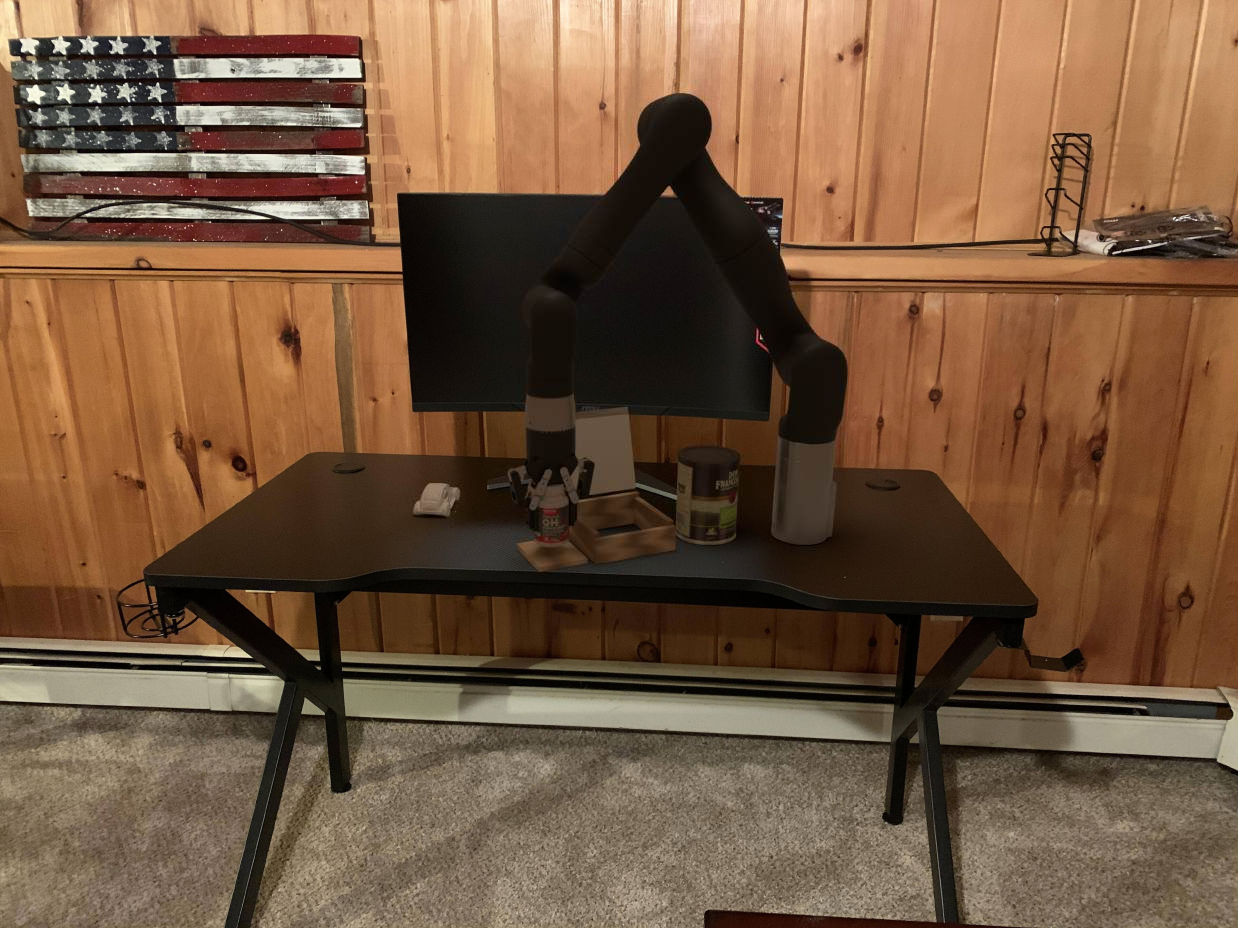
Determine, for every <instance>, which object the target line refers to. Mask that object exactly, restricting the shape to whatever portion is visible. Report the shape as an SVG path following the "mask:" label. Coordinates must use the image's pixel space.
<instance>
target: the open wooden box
mask: <svg viewBox="0 0 1238 928" xmlns="http://www.w3.org/2000/svg"><path fill="white" fill-rule="evenodd" d="M632 524H633V525H635V526H636V527H637V528H639V530H635V531H634V530H633V531H628V532H623V533H622V532H621V533H615V534H610V535H604V536H600V532H599V531H598V530H602V529H609V528H615V527H621V526H626V525H632ZM568 541H569V542H570V543H571V544H572V545H573V546H574V547H576V548H577V549H578V550H579V551H580V552H581V553H582V554H583V555H584V556H585V557H587V558H589V559H588V560H590V561H592V562H593V564H595V565H600V564H606V563H611V562H616V561H617V562H618V561H622V560H623V561H624V560H627V559H633V558H634V559H635V558H639V557H645V556H651V555H654V554H661V553H667V552H671V551H676V548H677V547H676V543H677V535H676V524H674V520H673V519H672V518H670V516H667V515H666V514H665V513H663V512H662V511H660V510H659V509H657V508H656V507H654V506H653V505H652V504H650V503H648V502H647V501H646V500H645V499H643V498H641V497H640V492H638V491H637V490H635V491H631V492H623V493H618V494H617V493H615V494H611V495H609V494H608V495H604V496H603V495H602V496H596V497H591V498H589V499H583V500H579V501H578V503H577V521H576V522H574V526H569V540H568Z"/></svg>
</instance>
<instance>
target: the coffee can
mask: <svg viewBox="0 0 1238 928" xmlns="http://www.w3.org/2000/svg"><path fill="white" fill-rule="evenodd" d="M741 458H742V454H741V453H740V452H739V451H737V450H735V449H732V448H730V447H725V446H721V445H720V446H719V445H706V444H705V445H703V444H702V445H692V446H687V447H683V448H680V450H678V452H677V480H676V481H677V485H676V487H677V488H676V508H675V509H676V510H675V511H676V512H675V526H676V538H677V537H678V539H680V540H682V541H684V542H687V543H691V544H694V545H700V546H718V545H724V544H727V543H730V542H732V541H733V540H735V539H736V536H737V517H738V500H739V496H738V495H739V482H740V466H741V464H740V463H741Z"/></svg>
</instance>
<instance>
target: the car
mask: <svg viewBox="0 0 1238 928" xmlns="http://www.w3.org/2000/svg"><path fill="white" fill-rule="evenodd" d="M460 496H461V489H459V487H455V486H454V487H452V486H450V484H448V483H440V482H439V483H438V482H436V483H435V482H434V483H433V482H432V483H431V482H430V483H428V484H427V485H426V487H425V488H424V489H423V491H422V493H421V495H420V497H419V500H417V501H416V503H415V504H414V506H413V512H412V515H414V516H420V515H436V516H442V517H449V516H450V515H451V509H452V508H453V506H454V503H455V502H458V501H459V499H460V498H461V497H460Z"/></svg>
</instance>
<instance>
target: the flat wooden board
mask: <svg viewBox="0 0 1238 928" xmlns="http://www.w3.org/2000/svg"><path fill="white" fill-rule="evenodd" d="M515 547H516V550H518V551H519V552H520V554H521V555H522V556H523V557H524V558H525V559H526V560H527V561H528V562H529V563H530V564H531V565H532V566H533V567H534V568H535V569H536V571H537V572H539V573H541V572H542V573H543V572H546V571H551V570H552V571H553V570H557V569H558V570H559V569H563V568H568V567H575V566H579V565H584V564H585V565H586V564H588V561H589V559H588V557H587V556H586V555H585V554H584V553H583V552H582V551H581V550H580V549H578V548H577V547H576V546H575V545H574V544H573V543H572V542H571V541H570V540H568V542H567V543H566V544H564V545H562V546H558V547H544V546H541V545H538V544H537V543H536V542H535V540H531V541H523V542H518V543H516V546H515Z"/></svg>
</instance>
